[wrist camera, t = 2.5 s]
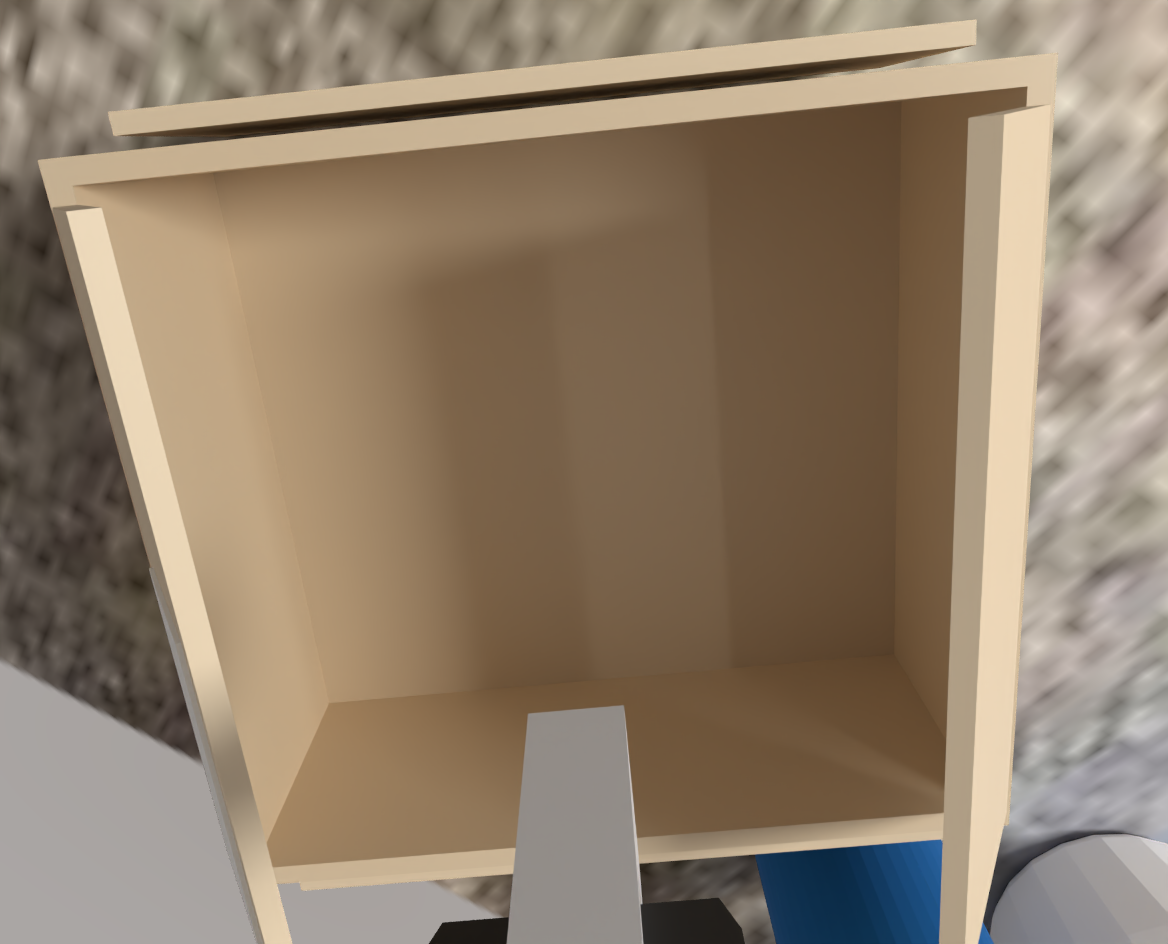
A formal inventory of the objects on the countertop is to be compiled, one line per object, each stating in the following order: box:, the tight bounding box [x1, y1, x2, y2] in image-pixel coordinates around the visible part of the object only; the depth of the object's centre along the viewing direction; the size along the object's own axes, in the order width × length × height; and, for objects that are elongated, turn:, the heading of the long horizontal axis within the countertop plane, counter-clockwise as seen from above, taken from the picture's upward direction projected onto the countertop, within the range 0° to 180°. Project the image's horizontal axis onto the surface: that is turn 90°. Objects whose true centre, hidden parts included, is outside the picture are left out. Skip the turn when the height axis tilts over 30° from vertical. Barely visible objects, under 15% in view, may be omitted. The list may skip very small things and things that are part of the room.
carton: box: [38, 19, 1058, 891], centre depth 28 cm, size 22×22×9 cm
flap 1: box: [52, 205, 292, 944], centre depth 20 cm, size 18×1×7 cm
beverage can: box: [755, 839, 994, 944], centre depth 31 cm, size 6×6×12 cm
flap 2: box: [939, 104, 1051, 944], centre depth 20 cm, size 18×1×7 cm, turn 6°
